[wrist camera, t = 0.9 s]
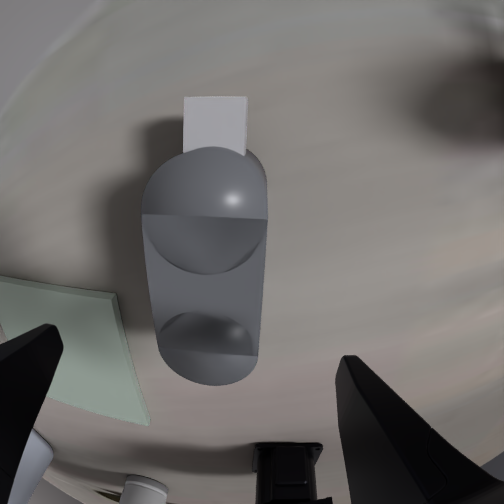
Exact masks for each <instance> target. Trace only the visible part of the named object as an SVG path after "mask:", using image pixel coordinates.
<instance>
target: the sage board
mask: <svg viewBox="0 0 504 504" xmlns="http://www.w3.org/2000/svg"><path fill="white" fill-rule="evenodd" d="M45 323H49V324H53V325H55V326H56V327H57V328H58V331H59V333H60V336H61V339H62V341H63V345H64V349H63V353H62V356H61V358H60V361H59V364H58V366H57V369H56V372H55V375H54V377H53V380H52V383H51V386H50V388H49V391H48V393H47V395H46V396H47V397H49V398H52V399H55V400H57V401H60V402H63V403H66V404H69V405H72V406H75V407H78V408H81V409H84V410H87V411H90V412H94V413H97V414H100V415H104V416H108V417H111V418H115V419H119V420H123V421H127V422H131V423H136V424H140V425H145V426H149V423H150V420H151V419H150V417H149V414H148V411H147V408H146V405H145V402H144V399H143V396H142V393H141V390H140V387H139V383H138V380H137V377H136V373H135V370H134V366H133V363H132V359H131V356H130V352H129V348H128V344H127V340H126V336H125V332H124V328H123V324H122V319H121V315H120V310H119V306H118V301H117V296H116V293H109V292H101V291H94V290H86V289H79V288H72V287H65V286H59V285H52V284H46V283H39V282H33V281H27V280H22V279H16V278H10V277H5V276H0V324H1V326H2V329H3V331H4V333H5V335H6V338H7V340H8V341H9V340H11V339H13V338H15V337H17V336H19V335H21V334H23V333H26V332H28V331H30V330H32V329H34V328H36V327H38V326H40V325H43V324H45Z"/></svg>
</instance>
